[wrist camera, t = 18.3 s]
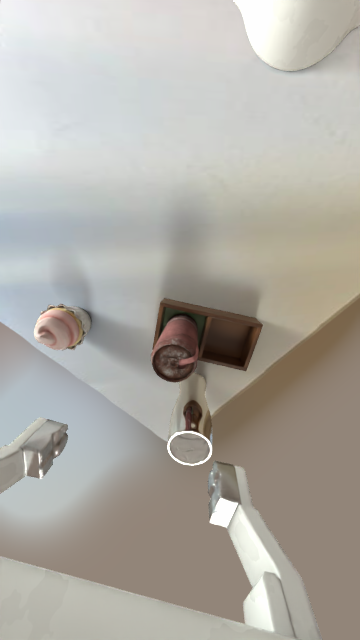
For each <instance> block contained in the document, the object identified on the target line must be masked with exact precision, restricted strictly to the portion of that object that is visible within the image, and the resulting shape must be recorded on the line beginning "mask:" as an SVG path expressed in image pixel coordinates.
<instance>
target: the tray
mask: <svg viewBox="0 0 360 640" xmlns="http://www.w3.org/2000/svg"><path fill="white" fill-rule="evenodd" d="M181 313H182V314H187V315H189V316H191V317H192V318H193V319H194V320H195V321H196V323H197V327H198V349H199V352H198V360H200V361H204V362H208V363H213V364H217V365H222V366H226V367H230V368H235V369H239V370H244V371H246V370H247V368H248V365H249V362H250V359H251V357H252V354H253V351H254V348H255V346H256V343H257V340H258V337H259V335H260V332H261V329H262V326H263V324H262V323H260V322H259V321H258V320H257V319H256V318H253V317H248V316H244V315H239V314H234V313H230V312H225V311H221V310H216V309H211V308H207V307H202V306H198V305H193V304H188V303H184V302H179V301H175V300H170V299H165V298H164V299H163V300H162V301H161V302H160V307H159V313H158V319H157V325H156V331H155V337H154V343H153V349H154V347H155V345H156V343H157V342H158V340H159V338H160V336H161V334H162V332H163V330H164V328H165V326H166V325H167V323H168V321H169V319H170V318H171V317H172V316H174V315H176V314H181ZM153 349H152V350H153Z"/></svg>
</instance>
